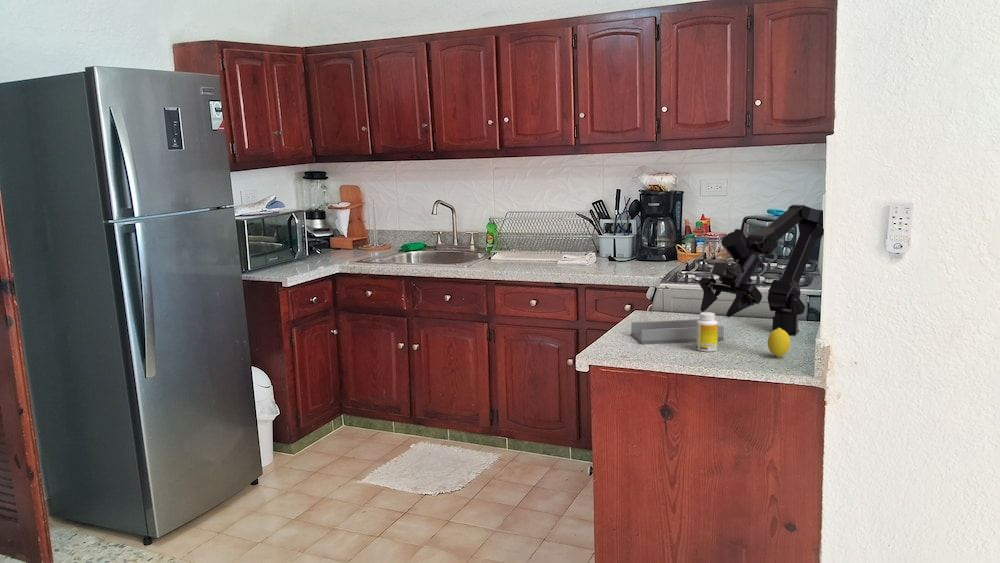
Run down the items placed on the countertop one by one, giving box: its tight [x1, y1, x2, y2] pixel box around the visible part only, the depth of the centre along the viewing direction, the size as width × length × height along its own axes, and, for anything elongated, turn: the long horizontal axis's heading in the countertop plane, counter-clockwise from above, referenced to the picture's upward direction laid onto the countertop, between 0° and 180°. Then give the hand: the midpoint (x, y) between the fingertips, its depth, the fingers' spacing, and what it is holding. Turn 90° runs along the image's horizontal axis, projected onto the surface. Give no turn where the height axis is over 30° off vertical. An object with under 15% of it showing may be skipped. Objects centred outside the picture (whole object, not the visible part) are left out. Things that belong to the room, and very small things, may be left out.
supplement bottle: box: [696, 311, 719, 353], centre depth 215 cm, size 6×6×10 cm
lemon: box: [767, 328, 791, 358], centre depth 206 cm, size 6×6×8 cm
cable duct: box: [630, 318, 724, 345], centre depth 231 cm, size 24×11×4 cm, turn 95°
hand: (714, 313), depth 216 cm, fingers open, 9 cm apart
